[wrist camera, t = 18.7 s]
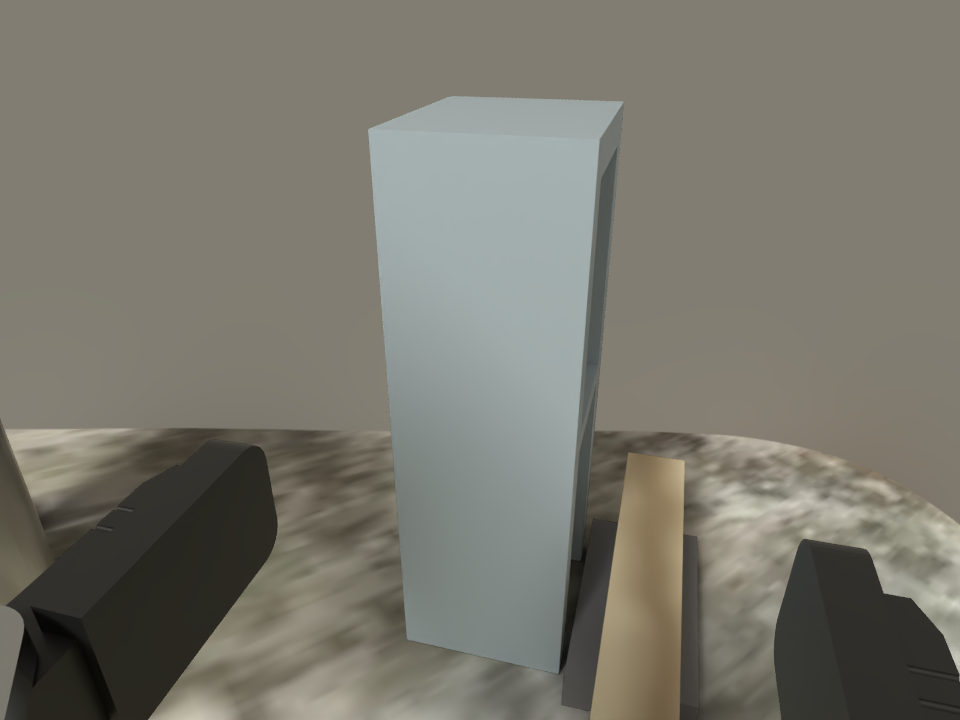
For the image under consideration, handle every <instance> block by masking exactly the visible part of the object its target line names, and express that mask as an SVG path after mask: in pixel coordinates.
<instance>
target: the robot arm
mask: <svg viewBox="0 0 960 720" xmlns="http://www.w3.org/2000/svg"><path fill="white" fill-rule="evenodd" d="M276 535H277V516H276V510H275V505H274V499H273V494H272V488H271V483H270V477H269V472H268V466H267V461H266V457H265V454H264V452H263V450H262V449H261V448H260V447H258V446H253V445H247V444H241V443H235V442H229V441H223V440H216V439H214V440H210V441H209V442H207V443H206V444H204V445H203V446H202V447H201V448H200V449H199V450H198V451H197V452H196V453H195V454H193V455H192V456H191V457H190V458H189V459H188V460H187V461H186V462H185V463H184V464H183V465H182V466H179V465H176V466H174V467H172V468H170V469H168V470H166V471H165V472H163V473H161V474H159V475H157V476H155V477H153V478H151V479H150V480H148V481H146V482H144V483H143V484H142V485H140V486H139V487H138V488H137V489H136V490H135V491H134V492H133V493H131V494H130V495H129V496H128V497H127V498H126V499H125V500H124V501H122V502H121V503H120V504H119V505H118V509H117V510H112V511H111V512H110V513H109V514H108V515H107V516H106V517H105V518H103V519H102V520H101V521H100V522H99V523H98V524H97V528H96V529H95V530H94V529H91V530H90V531H89V532H88V533H87V534H86V535H84V536H83V537H82V538H81V539H80V540H79V541H78V542H77V543H76V544H74V545H73V546H72V547H71V548H70V549H69V550H68V551H67V552H65V553H64V554H63V555H62V556H61V557H60V558H59V559H58V560H56V561H55V559H54V556H53V554H52V551H51V549H50V546H49V543H48V541H47V538H46V535H45V532H44V530H43V527H42V524H41V522H40V519H39V517H38V514H37V512H36V509H35V507H34V504H33V501H32V499H31V496H30V494H29V491H28V489H27V486H26V484H25V481H24V478H23V476H22V473H21V471H20V468H19V466H18V463H17V461H16V458H15V456H14V453H13V450H12V448H11V445H10V443H9V440H8V438H7V435H6V433H5V430H4V428H3V425H2V422H1V420H0V720H148V719H149V717H150V716H151V715H152V713H153V712H154V711H155V709H156V708H157V707H158V705H159V704H160V703H161V701H162V700H163V699H164V697H165V696H166V695H167V693H168V692H169V691H170V689H171V688H172V687H173V685H174V684H175V683H176V681H177V680H178V679H179V677H180V676H181V674H182V673H183V672H184V670H185V669H186V668H187V666H188V665H189V664H190V662H191V661H192V660H193V658H194V657H195V656H196V654H197V653H198V652H199V650H200V649H201V648H202V646H203V645H204V644H205V642H206V641H207V640H208V638H209V637H210V636H211V634H212V633H213V632H214V630H215V629H216V628H217V626H218V625H219V624H220V622H221V621H222V619H223V618H224V617H225V615H226V614H227V613H228V611H229V610H230V609H231V607H232V606H233V605H234V603H235V602H236V601H237V599H238V598H239V597H240V595H241V594H242V593H243V591H244V590H245V589H246V587H247V586H248V585H249V583H250V582H251V581H252V579H253V578H254V577H255V575H256V574H257V573H258V571H259V570H260V569H261V567H262V566H263V564H264V563H265V562H266V560H267V559H268V557H269V555H270V554H271V551H272V549H273V546H274V544H275V540H276ZM774 664H775V673H776V680H777V688H778V695H779V703H780V710H781V718H782V720H960V682H959V673H958V670H957V668H956V665H955V663H954V660H953V658H952V655H951V653H950V650H949V648H948V645H947V643H946V641H945V638H944V636H943V634H942V633H941V632H940V631H939V630H938V629H937V627H936V626H935V625H934V624H933V623H932V622H931V621H930V619H929V618H928V617H927V616H926V615H925V614H924V613H923V611H922V610H921V609H920V608H919V607H918V606H917V605H916V603H915V602H914V601H913V600H912V599H911V598H906V597H900V596H895V595H889V594H884V593H883V590H882V587H881V584H880V581H879V578H878V575H877V572H876V569H875V566H874V563H873V560H872V558H871V555H870V554H869V552H868V551H867V550H866V549H862V548H856V547H850V546H844V545H838V544H832V543H826V542H820V541H814V540H808V539H803V540H802V541H801V543H800V545H799V547H798V550H797V553H796V556H795V560H794V563H793V567H792V570H791V574H790V577H789V581H788V584H787V588H786V591H785V595H784V598H783V602H782V605H781V609H780V612H779V616H778V619H777V624H776V631H775V641H774Z"/></svg>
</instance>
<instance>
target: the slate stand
mask: <svg viewBox="0 0 960 720" xmlns="http://www.w3.org/2000/svg"><path fill="white" fill-rule="evenodd" d="M623 109H624V102H620V101H589V100H556V99H524V98H492V97H491V98H490V97H461V96H450V97H448V98H445V99H443V100H440V101H438V102H435V103H433V104H430V105H428V106H425V107H423V108H420V109H418V110H415V111H413V112H410V113H408V114H405V115H403V116H401V117H398V118H395V119H393V120H390V121H388V122H386V123H383V124H380V125H378V126H375V127H373V128H370V129H368V130H369V145H370V158H371V170H372V184H373V196H374V197H373V198H374V211H375V224H376V237H377V249H378V262H379V277H380V289H381V303H382V316H383V329H384V342H385V356H386V369H387V382H388V396H389V409H390V422H391V435H392V449H393V462H394V475H395V488H396V501H397V515H398V528H399V541H400V554H401V567H402V581H403V594H404V607H405V620H406V633H407V640H412V641H416V642H420V643H425V644H429V645H433V646H438V647H442V648H446V649H451V650H455V651H459V652H464V653H468V654H472V655H477V656H481V657H485V658H490V659H494V660H499V661H503V662H507V663H512V664H516V665H520V666H525V667H529V668H533V669H538V670H542V671H546V672H551V673H555V674H559V670H560V665H561V660H562V654H563V649H564V638H565V626H566V613H567V601H568V588H569V576H570V563H571V559H573V560H578V561H581V557H582V551H583V546H584V539H585V528H586V517H587V506H588V495H589V484H590V473H591V462H592V451H593V440H594V429H595V418H596V406H597V396H598V384H599V373H600V363H601V362H600V361H601V351H602V340H603V329H604V318H605V307H606V296H607V285H608V274H609V263H610V252H611V241H612V230H613V218H614V208H615V196H616V185H617V175H618V164H619V153H620V142H621V130H622V120H623Z"/></svg>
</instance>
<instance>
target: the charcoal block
mask: <svg viewBox="0 0 960 720" xmlns="http://www.w3.org/2000/svg"><path fill="white" fill-rule="evenodd" d="M617 527H618V523H615V522H609V521H604V520H598V519H593V522H592V527H591V533H590V538H589V544H588V549H587V554H586V560H585V565H584V570H583V576H582V581H581V587H580V592H579V597H578V603H577V608H576V613H575V619H574V624H573V630H572V635H571V640H570V646H569V651H568V656H567V662H566V667H565V673H564V680H563V692H562V704H561V705H565V706H569V707H573V708H577V709H581V710H586V711H590V712H591V707H592V700H593V693H594V687H595V680H596V673H597V666H598V659H599V652H600V645H601V638H602V631H603V624H604V617H605V610H606V603H607V597H608V590H609V583H610V576H611V569H612V562H613V555H614V548H615V541H616V534H617ZM698 711H699V654H698V581H697V537H696V536H690V535H684V534H683V566H682V617H681V667H680V718H679V720H697V715H698Z"/></svg>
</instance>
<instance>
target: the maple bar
mask: <svg viewBox="0 0 960 720" xmlns="http://www.w3.org/2000/svg"><path fill="white" fill-rule="evenodd" d="M684 465H685V461H683V460H676V459H670V458H663V457H656V456H650V455H643V454H637V453H630V452H628V458H627V465H626V472H625V479H624V486H623V493H622V500H621V507H620V514H619V520H618V527H617V534H616V541H615V548H614V555H613V562H612V569H611V576H610V583H609V590H608V597H607V603H606V610H605V617H604V624H603V631H602V638H601V645H600V652H599V659H598V666H597V673H596V680H595V687H594V693H593V700H592V707H591V714H590V720H679V718H680V667H681V617H682V566H683V515H684Z"/></svg>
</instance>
